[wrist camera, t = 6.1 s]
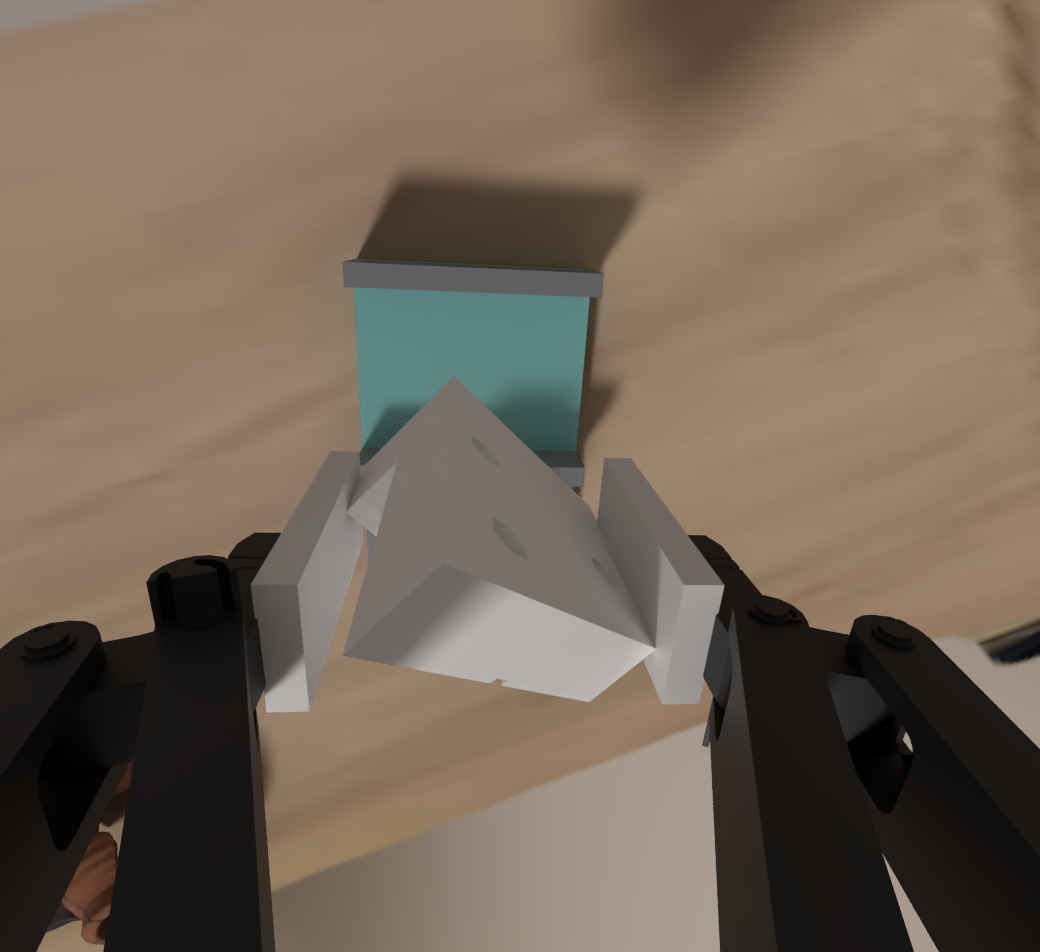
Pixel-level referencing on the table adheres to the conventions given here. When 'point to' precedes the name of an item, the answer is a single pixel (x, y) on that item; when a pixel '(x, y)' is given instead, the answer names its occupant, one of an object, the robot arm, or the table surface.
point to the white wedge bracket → (487, 561)
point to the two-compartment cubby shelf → (473, 348)
